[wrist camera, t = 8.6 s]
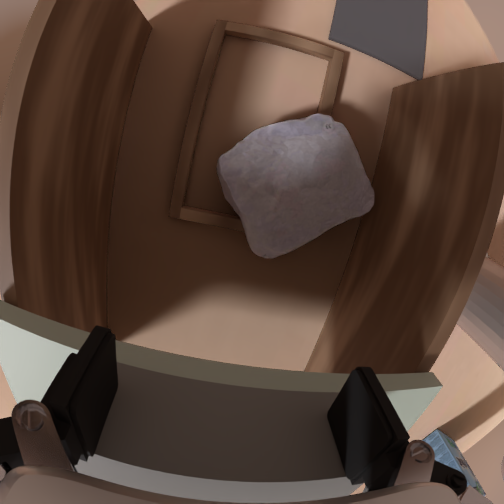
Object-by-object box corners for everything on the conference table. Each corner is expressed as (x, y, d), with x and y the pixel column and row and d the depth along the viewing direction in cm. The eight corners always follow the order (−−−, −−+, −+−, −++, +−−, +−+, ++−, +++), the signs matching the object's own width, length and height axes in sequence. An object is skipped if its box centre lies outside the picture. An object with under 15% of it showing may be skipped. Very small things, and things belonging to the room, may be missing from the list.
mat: (425, -14, 18) (427, -15, 17) (420, 81, 23) (422, 80, 22) (346, -53, 16) (347, -54, 16) (328, 39, 21) (329, 37, 21)
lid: (432, 371, 15) (479, 438, 9) (342, 480, 20) (357, 532, 14) (-2, 299, 11) (-67, 361, 5) (48, 438, 16) (26, 491, 10)
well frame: (405, 85, 23) (515, 63, 9) (310, 381, 35) (340, 478, 20) (141, 19, 19) (77, -63, 5) (97, 345, 31) (49, 437, 16)
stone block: (208, 164, 25) (258, 261, 27) (198, 154, 21) (260, 271, 22) (321, 111, 25) (368, 204, 26) (334, 93, 20) (391, 203, 21)
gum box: (420, 440, 46) (457, 511, 25) (438, 427, 45) (478, 497, 23) (440, 450, 51) (470, 506, 30) (454, 439, 50) (486, 494, 29)
